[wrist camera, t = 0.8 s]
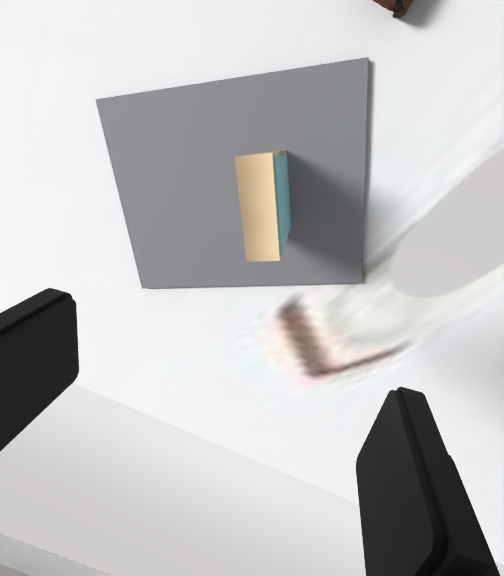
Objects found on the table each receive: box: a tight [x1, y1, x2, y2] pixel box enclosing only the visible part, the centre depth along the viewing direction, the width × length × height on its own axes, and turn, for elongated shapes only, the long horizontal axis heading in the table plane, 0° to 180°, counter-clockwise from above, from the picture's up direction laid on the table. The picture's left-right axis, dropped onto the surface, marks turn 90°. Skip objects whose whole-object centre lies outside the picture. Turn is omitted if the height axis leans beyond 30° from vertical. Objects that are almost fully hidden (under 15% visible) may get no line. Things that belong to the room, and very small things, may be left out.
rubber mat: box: [96, 57, 368, 288], centre depth 32 cm, size 24×19×1 cm
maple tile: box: [235, 150, 291, 262], centre depth 27 cm, size 3×7×10 cm, turn 6°
